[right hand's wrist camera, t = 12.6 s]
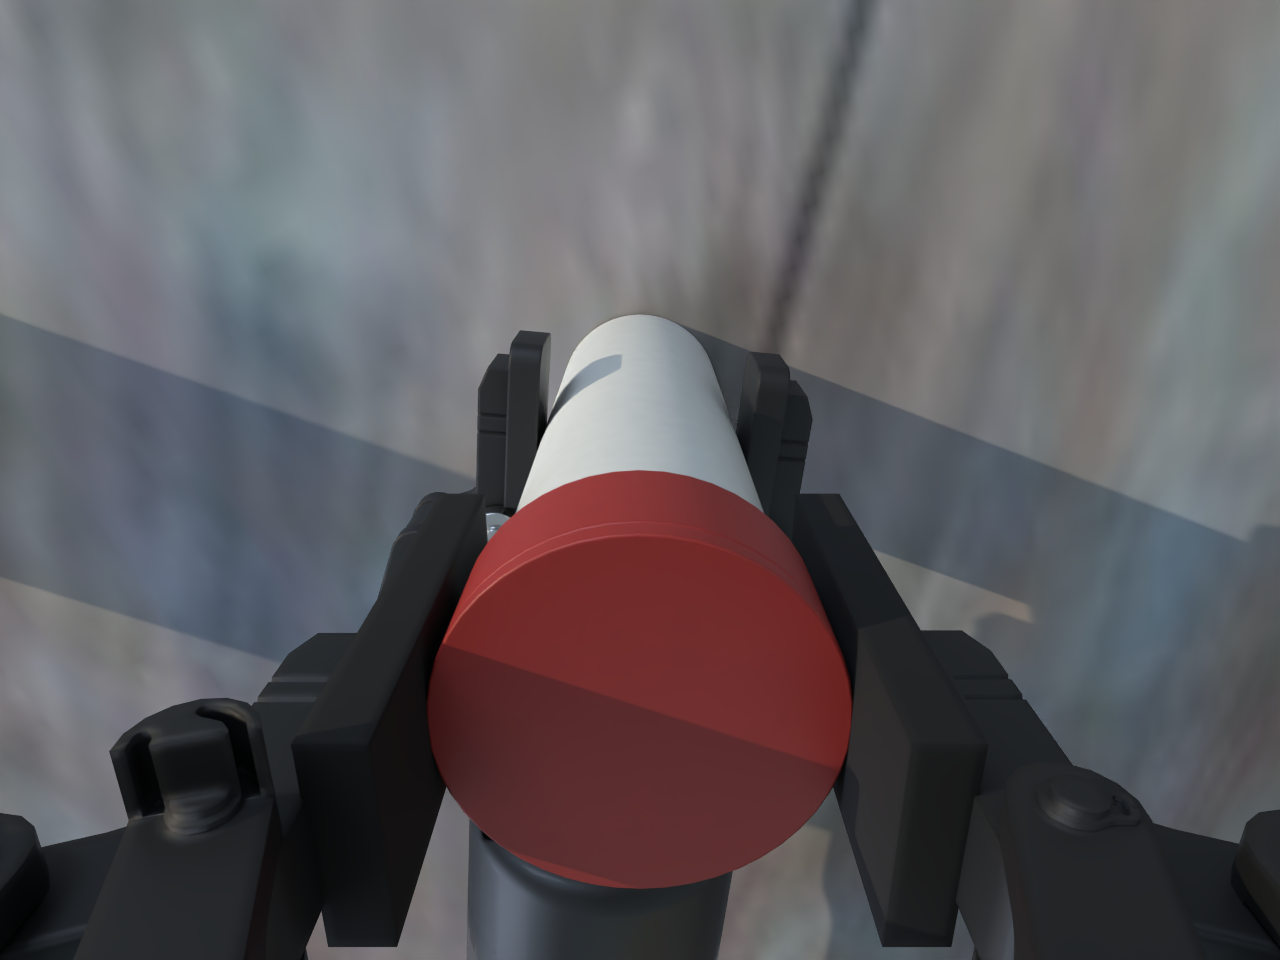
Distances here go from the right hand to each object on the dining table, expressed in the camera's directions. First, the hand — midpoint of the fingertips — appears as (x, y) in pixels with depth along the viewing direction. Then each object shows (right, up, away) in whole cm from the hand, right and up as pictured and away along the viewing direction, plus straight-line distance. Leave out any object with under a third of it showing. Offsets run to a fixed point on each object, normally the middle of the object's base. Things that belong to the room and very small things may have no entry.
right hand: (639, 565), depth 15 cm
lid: (0, -1, -4) cm, 4 cm away
